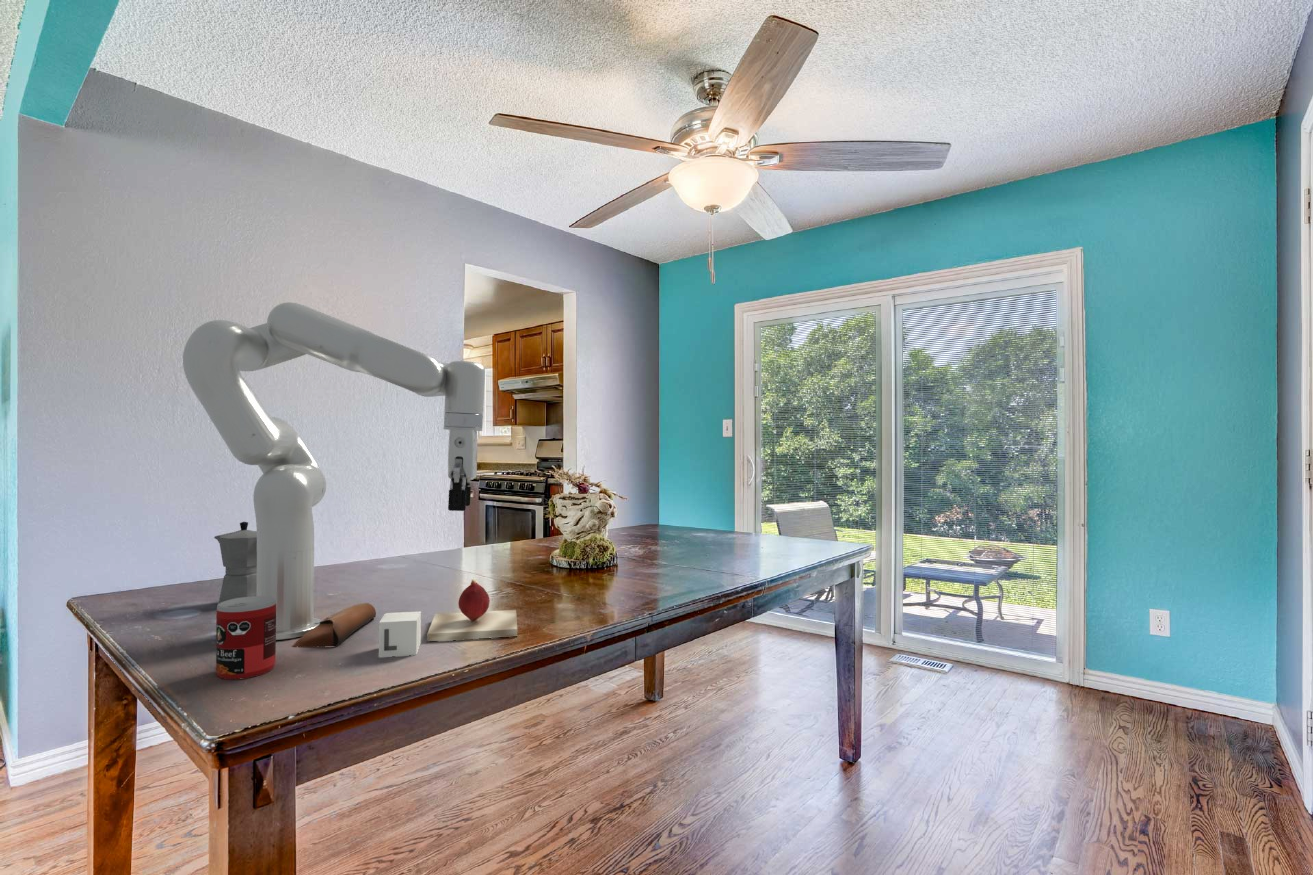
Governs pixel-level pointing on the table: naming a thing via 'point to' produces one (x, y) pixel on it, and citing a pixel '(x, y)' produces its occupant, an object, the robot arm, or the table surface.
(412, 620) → the letter cube
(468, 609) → the onion
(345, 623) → the sunglasses case
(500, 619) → the birch board
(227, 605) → the canned food
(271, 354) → the robot arm
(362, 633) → the table surface
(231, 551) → the coffeepot
